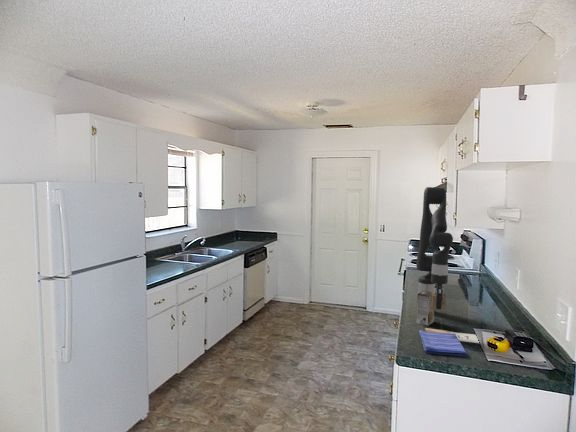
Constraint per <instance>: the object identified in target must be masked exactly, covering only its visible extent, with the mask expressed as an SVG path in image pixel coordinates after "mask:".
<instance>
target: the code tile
mask: <svg viewBox="0 0 576 432" xmlns="http://www.w3.org/2000/svg"><path fill="white" fill-rule="evenodd" d="M449 334H456V336H457V338H458V340H459V341H460V342H466V343H473V344H474V343H475V344H480V343H479V342H480V341H478V340H479V338H478V336H477V335H476V334H473V333H464V332H455V331H449Z"/></svg>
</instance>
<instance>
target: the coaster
mask: <svg viewBox="0 0 576 432" xmlns="http://www.w3.org/2000/svg"><path fill="white" fill-rule="evenodd" d="M424 331H427V332H432V333H449V334H450V331H449V330H447V329H446V330H444V329H439V328H438V329H437V328H429V327H428V328H427V327H424Z"/></svg>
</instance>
